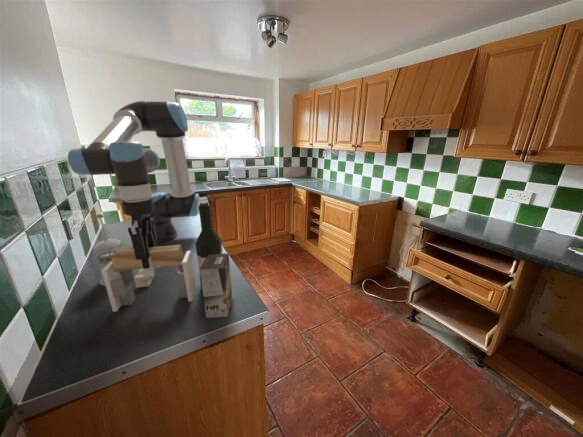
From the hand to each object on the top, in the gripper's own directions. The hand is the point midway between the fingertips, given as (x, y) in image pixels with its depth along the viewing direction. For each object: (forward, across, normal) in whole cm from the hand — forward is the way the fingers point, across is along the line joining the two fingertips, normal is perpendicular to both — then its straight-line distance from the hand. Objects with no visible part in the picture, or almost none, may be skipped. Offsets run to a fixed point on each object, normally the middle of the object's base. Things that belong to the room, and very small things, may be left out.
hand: (152, 272), depth 75 cm
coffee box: (+10, +9, +20) cm, 24 cm away
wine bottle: (+10, -5, +17) cm, 20 cm away
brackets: (+10, 0, 0) cm, 10 cm away
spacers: (+10, -11, 0) cm, 15 cm away
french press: (+10, -17, -18) cm, 27 cm away
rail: (-3, 0, 0) cm, 3 cm away
